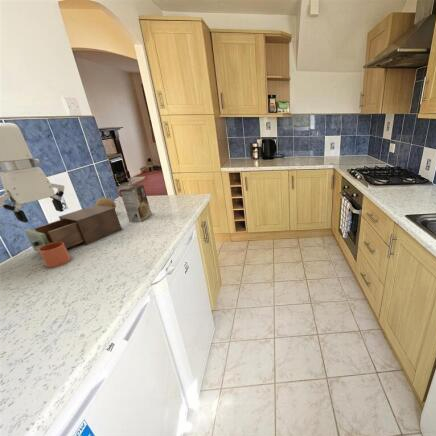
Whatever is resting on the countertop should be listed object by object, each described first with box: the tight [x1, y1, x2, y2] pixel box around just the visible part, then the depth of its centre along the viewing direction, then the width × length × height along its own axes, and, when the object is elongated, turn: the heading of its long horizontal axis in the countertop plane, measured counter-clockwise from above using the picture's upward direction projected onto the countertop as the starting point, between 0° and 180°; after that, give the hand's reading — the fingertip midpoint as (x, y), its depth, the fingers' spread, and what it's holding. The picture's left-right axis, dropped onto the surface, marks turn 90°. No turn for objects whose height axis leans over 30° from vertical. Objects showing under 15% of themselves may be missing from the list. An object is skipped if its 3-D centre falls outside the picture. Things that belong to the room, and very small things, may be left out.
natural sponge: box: [94, 196, 117, 209], centre depth 124 cm, size 9×9×10 cm
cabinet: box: [58, 204, 123, 245], centre depth 104 cm, size 15×13×11 cm
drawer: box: [23, 219, 84, 253], centre depth 94 cm, size 15×11×9 cm
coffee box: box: [118, 184, 152, 222], centre depth 119 cm, size 9×6×16 cm
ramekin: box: [38, 242, 71, 268], centre depth 85 cm, size 7×7×6 cm
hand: (43, 216), depth 82 cm, fingers open, 9 cm apart
